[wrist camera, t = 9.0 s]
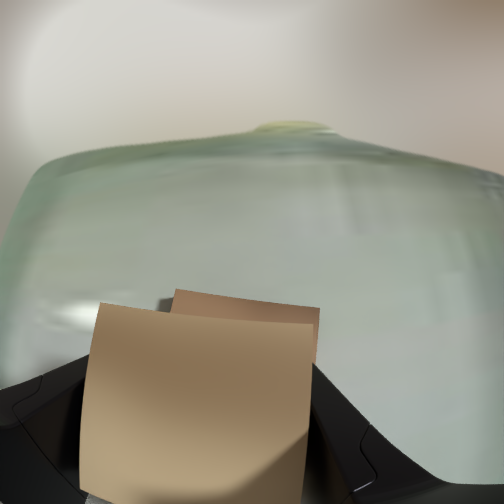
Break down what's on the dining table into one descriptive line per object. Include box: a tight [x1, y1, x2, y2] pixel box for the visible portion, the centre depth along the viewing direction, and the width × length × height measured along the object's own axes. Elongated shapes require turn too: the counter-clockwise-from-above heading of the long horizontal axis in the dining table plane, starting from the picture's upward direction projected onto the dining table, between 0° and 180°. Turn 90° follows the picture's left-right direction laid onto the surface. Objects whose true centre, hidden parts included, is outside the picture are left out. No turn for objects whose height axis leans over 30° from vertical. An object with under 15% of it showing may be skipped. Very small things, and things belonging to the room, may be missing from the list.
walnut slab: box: [170, 289, 320, 364], centre depth 15 cm, size 12×9×2 cm
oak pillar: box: [80, 302, 313, 504], centre depth 9 cm, size 5×5×10 cm
